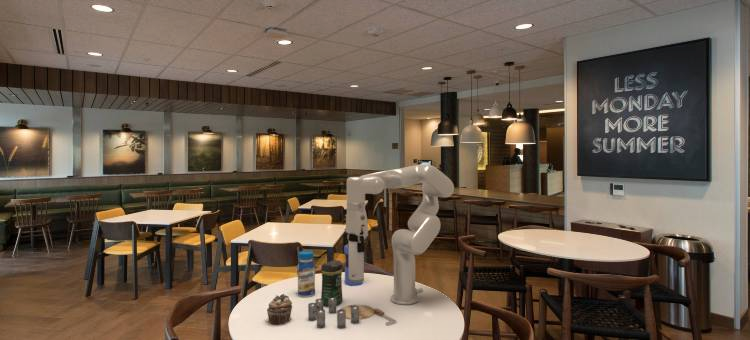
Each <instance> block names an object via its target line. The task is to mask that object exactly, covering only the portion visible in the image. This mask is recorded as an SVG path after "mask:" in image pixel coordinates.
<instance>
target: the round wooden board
mask: <svg viewBox="0 0 750 340" xmlns="http://www.w3.org/2000/svg"><path fill="white" fill-rule="evenodd" d="M354 305H355V304H349V305H346V306H343V307H340V309H339V310H345V311H346V320H347V319H348V320H351V306H354ZM356 305H357V306H359V320H365V319H369V318H371V317H372V316H374V315H375V312H374V309H375V308H373V307H372V306H369V305H366V304H356Z"/></svg>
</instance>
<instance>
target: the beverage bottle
mask: <svg viewBox="0 0 750 340" xmlns="http://www.w3.org/2000/svg"><path fill="white" fill-rule="evenodd" d="M298 260H299V262H298V263H297V267H296V268H297V272H296V274H297V295H298V297H300V298H309V297H313V296H314V295H315V294H316V269H315V267H316V265H315V262H314V261H313V260H314V252H313V250H302V251H299V252H298Z"/></svg>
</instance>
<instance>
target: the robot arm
mask: <svg viewBox="0 0 750 340" xmlns="http://www.w3.org/2000/svg"><path fill="white" fill-rule="evenodd" d="M419 184H422V186H421V188H422V190H421V191H422V201H421V203H420V205H418V207H417V208H416V210H414V212H413V213H412V215H411V216H410V217H409V219H408V220H407V227H408V229H405V228H402V229H401V228H400V229H398V230H395V231H394V232H393V234H392V236H391V248H392V253H393V294H392V295H391V296H389V297H390V301H391V302H392V303H394V304H397V305H405V306H406V305H408V306H409V305H414V304H416V303H418V302H419V296H418V295H419V294H421V293H423V292H424V290H423V287H420V288H417V287H416V257H415V256H419V255H422V254H423V253H424V252H426V250H428V248H429V247H430V245H431V244H432V242H433V241H434V240H435V238H436V237H437V236H438V234H439V233H440V230H441V227H442V226H441V220H440V218H439V217H438V216H437V215H438V212H439V209H440V207H439V206H440V204H439V203H440V202H439V199H438V198H449V197H451V196H452V195H453V193H454V191H455V186H454V183H453V181H452V180H451V179H450V178H449V177H448V176H447V175H446V174H445V173H443V172H442V170H440V169H438V168H437V167H435V166H434V165H431V164H415V165H409V166H406V167H401V168H396V169H389V170H384V171H379V172H378V171H377V172H372V173H368V174H363V175H360V176H350V177H349V176H348V178H347V179H346V214H345V215H346V217H345V218H346V219H345V228H344V231H345V234H346V238H347V244H348V249H349V234H352V235H356V236H357V238H358V242H359V243H357V252H358V253H360V252H364V253H365V246H366V245H365V244H366V240H367V238H368V236H369V229H368V227H369V226H368V216H367V211H366V194H367V195H368V194H371V195H378V194H380V193H381V192H383V191H384V189H401V188H402V189H403V188H405V187H409V186H414V185H419ZM360 233H362V234H361V235H360ZM361 236H362V237H361ZM360 237H361V239H360Z"/></svg>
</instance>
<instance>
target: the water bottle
mask: <svg viewBox="0 0 750 340" xmlns="http://www.w3.org/2000/svg"><path fill="white" fill-rule="evenodd" d="M343 247H344V249H343V250H344V257H345V258H344V259H345V261H344V262H345V263H344V264H345V265H344V284H345V286H349V287H358V286H361V285H363V282H364V280H363V281H362V282H358V283H354V282H350V281H349V249H348V243H346V245H344V246H343Z"/></svg>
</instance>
